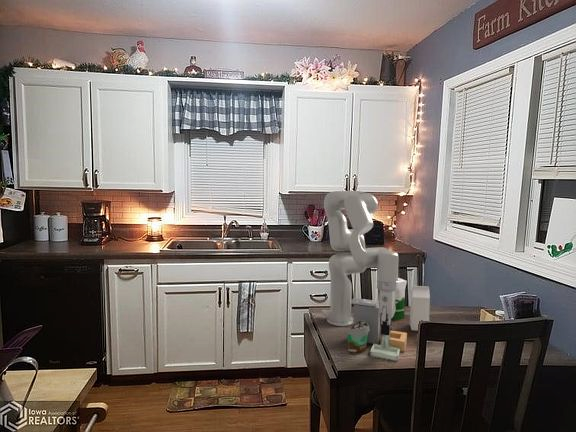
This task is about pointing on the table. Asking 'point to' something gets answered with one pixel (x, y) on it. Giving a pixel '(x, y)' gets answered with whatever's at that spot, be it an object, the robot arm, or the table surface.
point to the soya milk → (399, 300)
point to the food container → (358, 337)
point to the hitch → (377, 326)
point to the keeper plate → (364, 302)
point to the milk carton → (419, 305)
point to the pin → (385, 339)
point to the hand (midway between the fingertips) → (385, 332)
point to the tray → (385, 352)
